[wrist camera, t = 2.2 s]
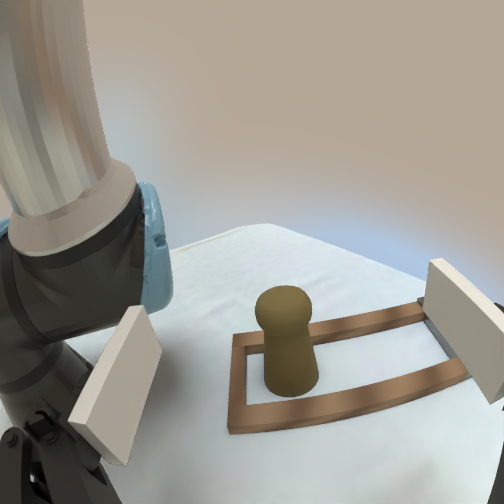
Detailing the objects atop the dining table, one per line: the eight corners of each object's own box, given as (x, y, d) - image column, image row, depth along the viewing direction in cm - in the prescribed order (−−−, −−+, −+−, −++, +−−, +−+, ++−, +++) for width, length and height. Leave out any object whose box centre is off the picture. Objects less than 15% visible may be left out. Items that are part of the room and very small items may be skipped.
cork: (304, 350, 33) (297, 270, 29) (328, 383, 28) (328, 299, 24) (257, 368, 32) (239, 288, 28) (275, 405, 27) (260, 323, 22)
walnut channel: (230, 434, 24) (227, 426, 23) (235, 342, 37) (233, 334, 36) (464, 380, 23) (468, 371, 22) (415, 310, 35) (416, 301, 35)
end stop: (464, 380, 23) (469, 368, 22) (415, 310, 35) (417, 298, 35) (477, 374, 22) (482, 362, 22) (426, 307, 35) (429, 295, 34)
